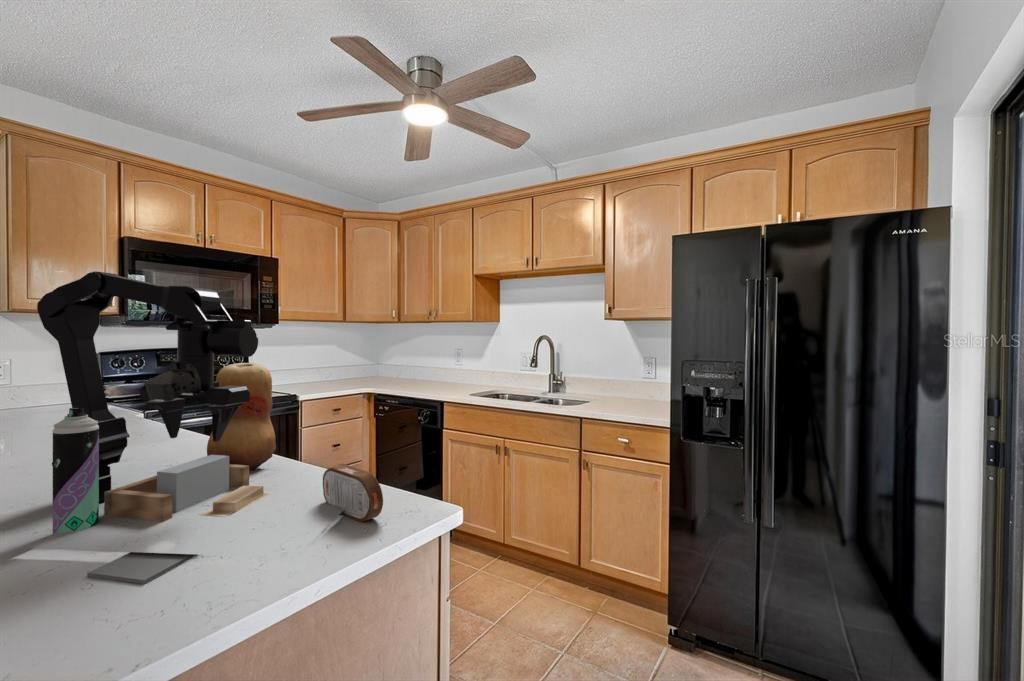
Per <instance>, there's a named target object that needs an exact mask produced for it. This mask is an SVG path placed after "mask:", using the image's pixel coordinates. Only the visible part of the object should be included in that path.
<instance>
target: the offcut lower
mask: <svg viewBox="0 0 1024 681" xmlns="http://www.w3.org/2000/svg"><path fill="white" fill-rule="evenodd" d="M269 495H270V493H268V492H267V493H266V492H265V493H264V492H263V495H262V496H260V497H259V498H257V499H255V500H254V501H252V502H251V503H249V504H247V505H246V506H244V507H243V508H241V509H244V508H246V507H247V506H250V505H252V504H253V503H256V502H257V501H260V500H261V499H263V498H265V497H267V496H269ZM241 509H239V510H241ZM239 510H238V511H239ZM234 513H235V512H218V511H213V507H212V508H209V509H207V510H205V511H203V512H201V513H199V514H197V515H198V516H206V517H207V516H208V517H218V518H219V517H220V518H226V517H227V516H230V515H231V514H234Z"/></svg>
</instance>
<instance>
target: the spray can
mask: <svg viewBox="0 0 1024 681" xmlns="http://www.w3.org/2000/svg"><path fill="white" fill-rule="evenodd" d="M97 424H98V421H97V420H93V419H91V418H89V417H88V415H86V413H84V408H72V407H70V408H69V411H68V413H67V415H64V417H63V419H61V420H60V421H59V422H57V423H54V424H53V429H52V462H53V466H52V535H54V534H64V533H65V534H66V533H67V534H68V533H75V532H79V531H84V530H87V529H91V528H92V527H94V526H97V525H98V524H99V522H100V520H99V517H100V515H99V514H100V511H99V510H100V508H99V507H100V504H99V503H100V502H99V426H98V425H97Z"/></svg>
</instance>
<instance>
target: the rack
mask: <svg viewBox="0 0 1024 681" xmlns="http://www.w3.org/2000/svg"><path fill="white" fill-rule="evenodd" d="M242 486H250V470H249V466H247V465H235V464H229V487H236V488H240V487H242ZM103 502H104V505H103V506H104V508H103V512H104V514H103V515H104V516H106V517H108V516H109V517H116V518H117V517H118V518H127V519H137V520H143V521H144V520H145V521H156V522H163V523H164V522H166V521H169V520H171V519H173V512H172V495H171V494H161V493H157V474H156V475H153V476H149V477H147V478H144V479H141V480H138V481H135V482H132V483H129V484H126V485H123V486H120V487H115V488H113V489H111V490H109V491H106V492H104V501H103Z"/></svg>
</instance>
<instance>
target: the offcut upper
mask: <svg viewBox="0 0 1024 681" xmlns="http://www.w3.org/2000/svg"><path fill="white" fill-rule="evenodd" d="M263 493H264V486H263V485H248V486H242V487H237V488H236V489H235V490H232V491H231V492H229V493H227V494H225V495H224V496H222V497H220V498H218V499H216V500H214V501H213V502H212V508H213V511H218V512H234V513H236V512H238V511H239V509H240V510H241V508H242V509H244V508H245V507H244V506H246V505H247V504H249V503H251V502H252V501H254V500H255V499H257V498H259V497H260V496H262V495H263ZM251 504H252V503H251ZM249 505H250V504H249ZM243 507H244V508H243ZM246 507H247V506H246Z"/></svg>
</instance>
